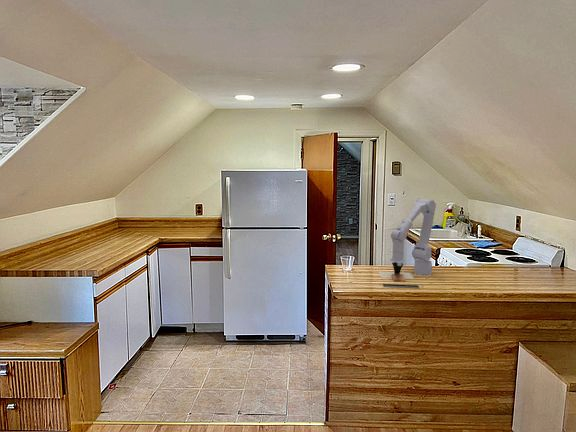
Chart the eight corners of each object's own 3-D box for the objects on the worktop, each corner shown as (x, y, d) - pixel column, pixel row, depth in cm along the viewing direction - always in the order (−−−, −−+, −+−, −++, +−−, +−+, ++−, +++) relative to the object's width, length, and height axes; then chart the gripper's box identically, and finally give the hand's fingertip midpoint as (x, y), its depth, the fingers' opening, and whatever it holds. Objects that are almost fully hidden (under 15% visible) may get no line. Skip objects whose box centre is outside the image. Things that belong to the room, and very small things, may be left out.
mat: (414, 280, 228) (414, 280, 228) (419, 288, 215) (419, 287, 215) (380, 279, 230) (380, 279, 230) (383, 287, 216) (383, 286, 216)
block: (402, 277, 230) (402, 274, 230) (405, 283, 222) (405, 279, 222) (391, 277, 231) (391, 273, 230) (393, 282, 223) (393, 279, 222)
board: (409, 274, 241) (409, 272, 241) (414, 280, 228) (414, 278, 228) (378, 273, 243) (378, 271, 243) (380, 279, 230) (380, 277, 230)
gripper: (388, 248, 237) (387, 272, 239) (392, 254, 223) (391, 278, 224) (401, 249, 236) (400, 272, 238) (406, 254, 222) (404, 279, 224)
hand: (396, 275), depth 231 cm, fingers closed
